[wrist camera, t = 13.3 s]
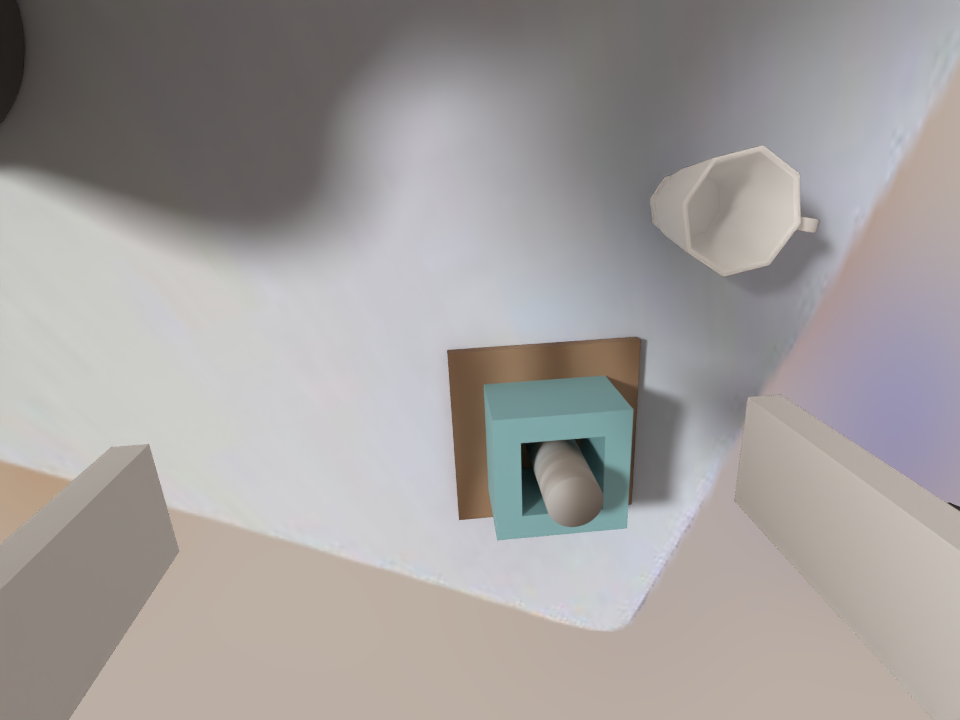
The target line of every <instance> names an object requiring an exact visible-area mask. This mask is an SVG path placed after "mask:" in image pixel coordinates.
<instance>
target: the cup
mask: <svg viewBox="0 0 960 720" xmlns="http://www.w3.org/2000/svg"><path fill="white" fill-rule="evenodd" d="M650 207H651V215H652V223H653V225H655V226H656V227H658V228H659V229H660V230H661V231H662V233H663V234H664V235H665V236H666V237H668V238H669V239H670V240H672V241H673V242H675V243H676V244H677V245H678V246H679V247H681V248H682V249H683V250H685V251H686V252H688V253H689V254H691V255H692V256H693V257H695V258H696V259H698V260H699V261H701V262H702V263H704V264H705V265H707V266H708V267H710V268H711V269H713V270H714V271H715V272H717V273H718V274H720V275H721V276H723V277H725V276H729V275H733V274H737V273H740V272H744V271H748V270H752V269H756V268H760V267H764V266H768V265H770V264H771V262H772V261H773V260H774V258H775V257H776V256H777V254H778V253H779V252H780V250H781V249H782V248H783V246H784V245H785V244H786V242H787V241H788V240H789V238H790V237H791V236H792V235H793V233H794V232H795V231H796V230H800V231H806V232H812V233H815V232H816V229H817V226H818V223H819V220H818V219H812V218H807V217H801V210H800V178H799V173H798V172H797V171H795V170H794V169H793V168H792V167H790V166H789V165H788V164H786V163H785V162H784V161H783V160H781V159H780V158H779V157H777V156H776V155H775V154H774V153H772V152H771V151H770V150H768V149H767V148H766V147H765V146H759V147H755V148H751V149H747V150H743V151H739V152H735V153H731V154H727V155H723V156H720V157H716V158H712V159H709V160H706V161H703V162H701V163H698V164H695V165H692V166H689V167H686V168H683V169H680V170H679V171H678V172H676V173H675V174H673V175H670V176H666V177H664V178H663V180H662V181H661V183H660V184H659V186H658V187H657V189H656V190H655V192H654V193H653V195H652V196H651V198H650Z"/></svg>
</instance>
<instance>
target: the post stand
mask: <svg viewBox="0 0 960 720" xmlns="http://www.w3.org/2000/svg"><path fill="white" fill-rule="evenodd" d="M640 344H641V340H640V339H639V338H638V337H626V338H612V339H598V340H584V341H570V342H555V343H541V344H527V345H513V346H499V347H484V348H470V349H456V350H447V353H448V367H449V381H450V396H451V410H452V424H453V438H454V453H455V467H456V481H457V496H458V510H459V520H465V519H476V518H487V517H493V513H492V507H491V502H490V496H489V489H488V468H487V446H486V425H485V403H484V384H497V383H510V382H524V381H537V380H551V379H564V378H578V377H591V376H606V377H607V378H608V380H609V381H610V382H611V383H612V384H613V386H614V387H615V388H616V389H617V390H618V392H619V393H620V394H621V395H622V396H623V398H624V399H625V400H626V401H627V402H628V404H629V405H630V406H631V407H632V408H633V428H632V446H631V464H630V482H629V500H628V505H630V504H632V486H633V468H634V451H635V433H636V415H637V397H638V380H639V362H640ZM580 442H581V438H580V439H567V440H555V441H543V442H530V443H521V469H522V468H533V470H534V473H535V476H536V479H537V482H538V485H539V488H540V491H541V494H542V497H543V499H544V502H545V505H546V508H547V511H548V514H549V516H550V517H551V518H552V520H553V521H555V522H556V523H557V524H559V525H562V526H566V527H579V526H582V525H585V524H587V523H589V522H591V521H592V520H593V519H594V518H595V517H596V516H597V515H598V514H599V513H600V511H601V509H602V506H603V501H604V497H603V493H602V490H601V489H600V487H599V485H598V483H597V481H596V479H595V477H594V475H593V473H592V471H591V470H590V468H589V466H588V464H587V462H586V460H585V458H584V456H583V454H582V452H581V451H580Z"/></svg>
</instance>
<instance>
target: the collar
mask: <svg viewBox="0 0 960 720" xmlns="http://www.w3.org/2000/svg"><path fill="white" fill-rule="evenodd" d="M484 403H485V425H486V446H487V468H488V489H489V496H490V502H491V507H492V513H493V519H494V524H495V530H496V536H497V540H505V539H516V538H527V537H538V536H549V535H559V534H570V533H581V532H592V531H603V530H614V529H624V528H627V518H628V500H629V482H630V464H631V446H632V428H633V408H632V407H631V406H630V405H629V404H628V402H627V401H626V400H625V399H624V398H623V396H622V395H621V394H620V393H619V392H618V390H617V389H616V388H615V387H614V386H613V384H612V383H611V382H610V381H609V380H608V378H607V377H606V376H591V377H578V378H564V379H551V380H537V381H524V382H510V383H497V384H484ZM580 438H581V442H580V451H581V452H582V454H583V456H584V458H585V460H586V462H587V464H588V466H589V468H590V470H591V471H592V473H593V475H594V477H595V479H596V481H597V483H598V485H599V487H600V489H601V490H602V493H603V497H604V501H603V506H602V509H601V511H600V513H599V514H598V515H597V516H596V517H595V518H594V519H593V520H592V521H591V522H589V523H587V524H585V525H582V526H579V527H566V526H562V525H559V524H557V523H556V522H555V521H553V520H552V518H551V517H550V516H549V514H548V511H547V508H546V505H545V502H544V499H543V497H542V494H541V491H540V488H539V485H538V482H537V479H536V476H535V473H534V470H533V468H522V469H521V443H530V442H543V441H555V440H567V439H580Z"/></svg>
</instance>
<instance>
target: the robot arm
mask: <svg viewBox="0 0 960 720" xmlns="http://www.w3.org/2000/svg"><path fill="white" fill-rule="evenodd" d="M23 66H24V36H23V28H22V22H21V17H20V13H19V9H18V5H17V2H16V0H0V122H1V121H2V120H3V119H4V117H5V116H6V114H7V113H8V111H9V110H10V108H11V106H12V104H13V102H14V100H15V98H16V95H17V93H18V90H19V86H20V83H21V78H22V73H23ZM734 501H735V502H736V503H737V504H738V505H739V507H740V508H741V509H742V510H743V511H744V512H745V513H746V514H747V515H748V516H749V518H750V519H751V520H752V521H753V522H754V523H755V524H756V525H757V526H758V527H759V529H760V530H761V531H762V532H763V533H764V534H765V535H766V536H767V537H768V539H769V540H770V541H771V542H772V543H773V544H774V545H775V546H776V547H777V548H778V549H779V551H780V552H781V553H782V554H783V555H784V556H785V557H786V558H787V559H788V560H789V561H790V563H791V564H792V565H793V566H794V567H795V568H796V569H797V570H798V572H799V573H800V574H801V575H802V576H803V577H804V578H805V579H806V580H807V581H808V582H809V584H810V585H811V586H812V587H813V588H814V589H815V590H816V591H817V592H818V594H819V595H820V596H821V597H822V598H823V599H824V600H825V601H826V602H827V603H828V604H829V606H830V607H831V608H832V609H833V610H834V611H835V612H836V613H837V615H838V616H839V617H840V618H841V619H842V620H843V621H844V622H845V623H846V624H847V625H848V627H849V628H850V629H851V630H852V631H853V632H854V633H855V634H856V635H857V636H858V638H859V639H860V640H861V641H862V642H863V643H864V644H865V645H866V646H867V648H868V649H869V650H870V651H871V652H872V653H873V654H874V655H875V656H876V657H877V659H878V660H879V661H880V662H881V663H882V664H883V665H884V666H885V667H886V668H887V670H889V672H890V673H891V674H892V675H893V676H894V677H895V678H896V680H897V681H898V682H899V683H900V684H901V685H902V686H903V687H904V688H905V689H906V690H907V692H908V693H909V694H910V695H911V696H912V697H913V698H914V699H915V700H916V701H917V703H918V704H919V705H920V706H921V707H922V708H923V709H924V710H925V711H926V713H927V714H928V715H929V716H930V717H931V718H932V719H933V720H960V507H959V506H956V505H954V504H952V503H946V502H945V501H943V500H941V499H940V498H938V497H937V496H935V495H934V494H932V493H931V492H929V491H928V490H926V489H925V488H923V487H922V486H920V485H918V484H917V483H915V482H914V481H912V480H911V479H909V478H908V477H906V476H905V475H903V474H902V473H900V472H898V471H897V470H895V469H894V468H892V467H891V466H889V465H888V464H886V463H885V462H883V461H882V460H880V459H879V458H877V457H875V456H874V455H872V454H871V453H869V452H868V451H866V450H865V449H863V448H861V447H860V446H859V445H857V444H856V443H854V442H852V441H851V440H849V439H847V438H846V437H845V436H843V435H842V434H840V433H838V432H837V431H836V430H834V429H832V428H831V427H829V426H828V425H826V424H825V423H823V422H822V421H820V420H819V419H817V418H815V417H814V416H813V415H811V414H809V413H808V412H806V411H805V410H803V409H802V408H800V407H799V406H797V405H796V404H794V403H793V402H791V401H790V400H788V399H786V398H785V397H783V396H782V395H768V396H755V397H748V400H747V407H746V415H745V423H744V430H743V438H742V446H741V453H740V461H739V469H738V476H737V484H736V491H735V499H734ZM178 552H179V549H178V545H177V542H176V538H175V535H174V531H173V528H172V524H171V520H170V517H169V513H168V510H167V506H166V503H165V499H164V496H163V492H162V489H161V485H160V481H159V478H158V474H157V471H156V467H155V464H154V460H153V457H152V453H151V450H150V446H149V444H145V445H132V446H119V447H111V448H110V449H109V450H107V451H106V452H105V453H104V454H103V455H102V456H101V457H99V458H98V459H97V460H96V461H95V462H94V463H93V464H91V465H90V466H89V467H88V468H87V469H86V470H85V471H83V472H82V473H81V474H80V475H79V476H78V477H77V478H75V479H74V480H73V481H72V482H71V483H70V484H69V485H67V486H66V487H65V488H64V489H63V490H62V491H61V492H59V493H58V494H57V495H56V496H55V497H54V498H53V499H51V500H50V501H49V502H48V503H47V504H46V505H45V506H44V507H42V508H41V509H40V510H39V511H38V512H37V513H35V514H34V515H33V516H32V517H31V518H30V519H29V520H27V522H25V523H24V524H23V525H22V526H21V527H19V528H18V529H17V530H16V531H15V532H14V533H13V534H11V535H10V536H9V537H8V538H7V539H6V540H5V541H3V542H2V543H1V544H0V720H69V719H70V717H71V715H72V714H73V712H74V711H75V710H76V708H77V706H78V705H79V703H80V702H81V700H82V699H83V697H84V696H85V694H86V693H87V691H88V690H89V688H90V687H91V685H92V684H93V682H94V681H95V679H96V678H97V676H98V674H99V673H100V671H101V670H102V668H103V667H104V665H105V664H106V662H107V661H108V659H109V658H110V656H111V655H112V653H113V652H114V650H115V649H116V647H117V645H118V644H119V642H120V641H121V639H122V638H123V636H124V635H125V633H126V632H127V630H128V629H129V627H130V626H131V624H132V623H133V621H134V620H135V618H136V617H137V615H138V614H139V612H140V610H141V609H142V607H143V606H144V604H145V603H146V601H147V600H148V598H149V597H150V595H151V594H152V592H153V591H154V589H155V588H156V586H157V584H158V583H159V582H160V580H161V578H162V577H163V575H164V574H165V572H166V571H167V569H168V568H169V566H170V565H171V563H172V561H173V560H174V559H175V557H176V556H177V554H178Z"/></svg>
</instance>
